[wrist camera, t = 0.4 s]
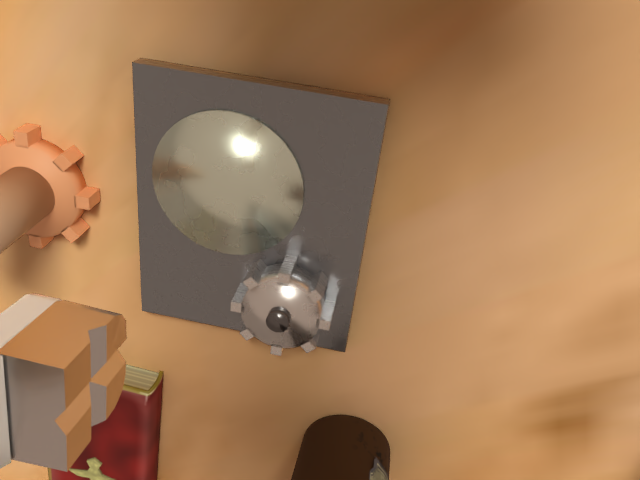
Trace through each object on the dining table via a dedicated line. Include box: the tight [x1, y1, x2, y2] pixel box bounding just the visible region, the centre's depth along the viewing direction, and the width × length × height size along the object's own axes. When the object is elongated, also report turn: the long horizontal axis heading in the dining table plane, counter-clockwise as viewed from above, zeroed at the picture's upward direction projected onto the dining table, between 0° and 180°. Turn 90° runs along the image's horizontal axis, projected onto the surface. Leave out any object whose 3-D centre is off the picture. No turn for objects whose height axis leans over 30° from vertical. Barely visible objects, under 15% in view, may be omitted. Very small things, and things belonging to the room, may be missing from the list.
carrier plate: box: [132, 58, 390, 356], centre depth 51 cm, size 24×20×6 cm
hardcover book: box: [48, 365, 163, 480], centre depth 69 cm, size 12×21×4 cm, turn 170°
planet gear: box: [0, 123, 100, 253], centre depth 51 cm, size 11×11×12 cm
